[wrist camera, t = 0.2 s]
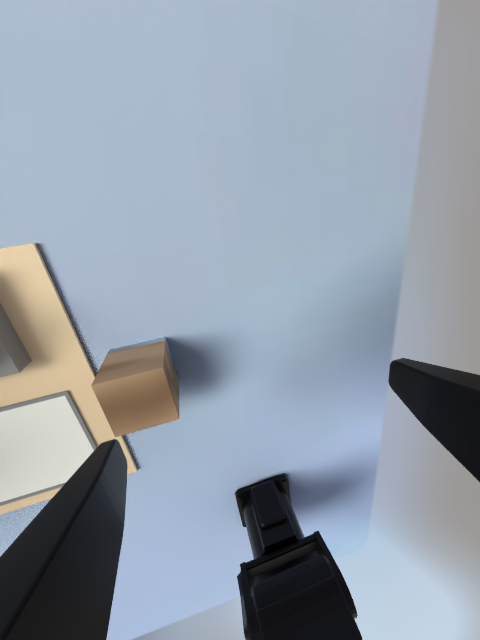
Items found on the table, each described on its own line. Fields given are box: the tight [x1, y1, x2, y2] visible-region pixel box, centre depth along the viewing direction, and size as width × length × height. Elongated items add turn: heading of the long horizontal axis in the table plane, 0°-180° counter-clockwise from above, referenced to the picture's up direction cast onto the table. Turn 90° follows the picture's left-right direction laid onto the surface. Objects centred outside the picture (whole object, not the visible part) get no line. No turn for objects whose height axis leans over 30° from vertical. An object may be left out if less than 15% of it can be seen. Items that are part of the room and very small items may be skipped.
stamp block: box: [91, 337, 179, 437], centre depth 20 cm, size 4×4×5 cm
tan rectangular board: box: [0, 243, 137, 515], centre depth 20 cm, size 22×14×1 cm, turn 9°
